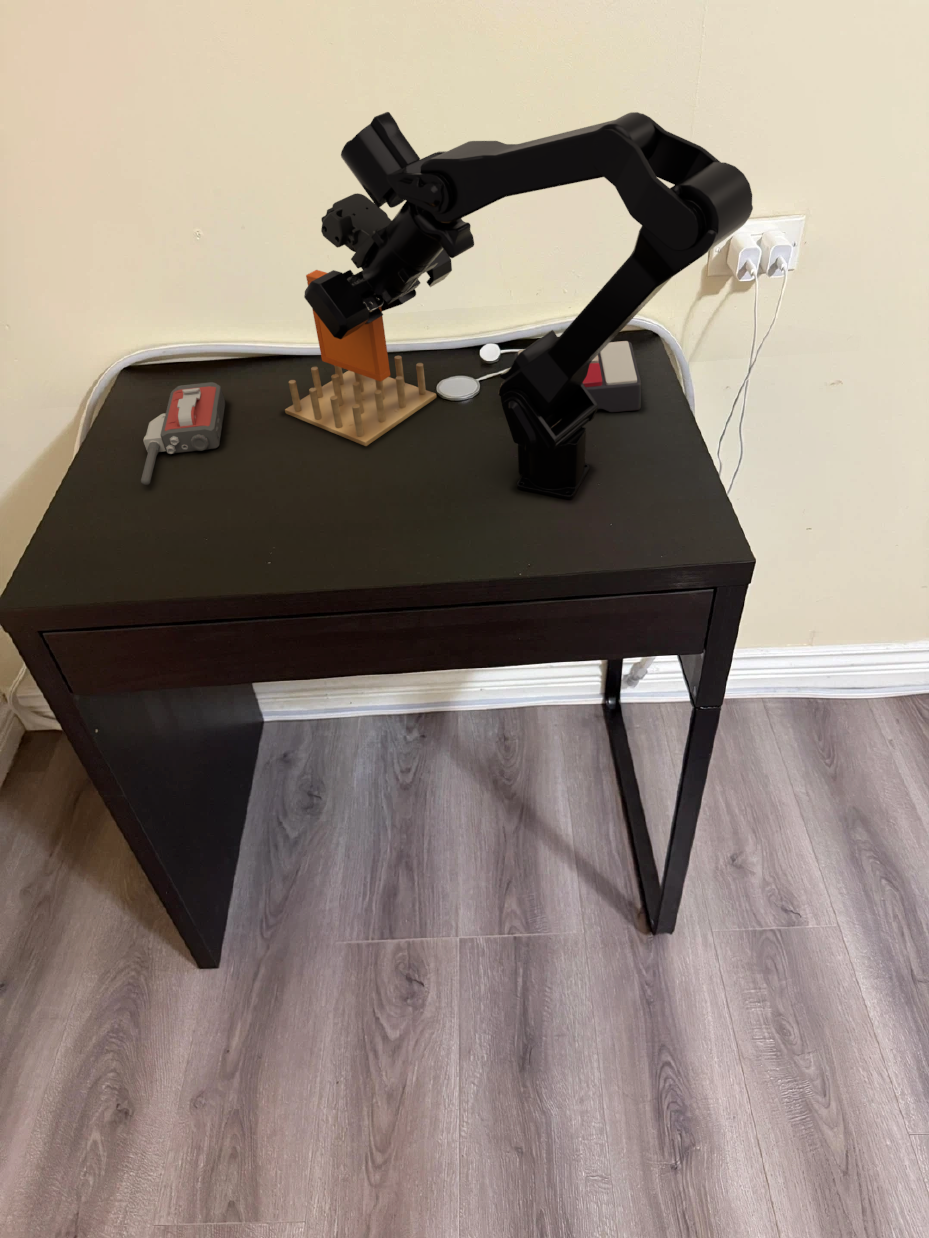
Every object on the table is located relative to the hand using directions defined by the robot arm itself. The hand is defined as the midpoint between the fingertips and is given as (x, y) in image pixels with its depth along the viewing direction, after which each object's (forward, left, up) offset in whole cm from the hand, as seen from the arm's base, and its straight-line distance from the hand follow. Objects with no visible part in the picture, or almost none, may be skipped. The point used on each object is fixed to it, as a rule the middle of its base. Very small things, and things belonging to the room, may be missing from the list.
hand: (351, 318), depth 107 cm
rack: (+1, 0, -12) cm, 12 cm away
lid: (+1, 0, -7) cm, 7 cm away
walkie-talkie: (+17, +15, -12) cm, 26 cm away
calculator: (-24, -12, -12) cm, 29 cm away
